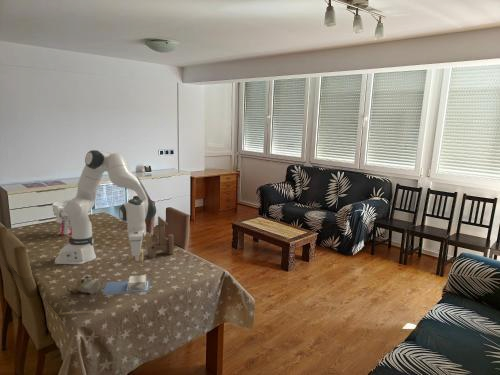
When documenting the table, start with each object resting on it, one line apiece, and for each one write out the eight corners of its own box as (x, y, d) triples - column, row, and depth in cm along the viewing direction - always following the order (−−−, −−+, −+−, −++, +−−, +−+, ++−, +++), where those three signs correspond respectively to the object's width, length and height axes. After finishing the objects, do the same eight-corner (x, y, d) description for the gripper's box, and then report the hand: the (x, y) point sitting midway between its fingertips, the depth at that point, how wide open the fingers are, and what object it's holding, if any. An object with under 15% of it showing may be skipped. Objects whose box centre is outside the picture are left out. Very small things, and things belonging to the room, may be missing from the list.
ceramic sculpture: (90, 282, 169) (64, 279, 173) (92, 299, 170) (66, 296, 174) (105, 273, 179) (80, 270, 183) (106, 289, 181) (81, 286, 184)
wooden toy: (150, 258, 222) (149, 219, 217) (147, 254, 228) (146, 217, 223) (174, 254, 230) (174, 216, 226) (170, 250, 236) (170, 214, 231)
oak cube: (132, 262, 178) (131, 252, 177) (133, 258, 183) (132, 249, 182) (142, 261, 179) (142, 252, 178) (143, 258, 184) (142, 248, 183)
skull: (51, 231, 266) (49, 201, 261) (78, 227, 277) (77, 198, 273) (57, 241, 246) (55, 209, 242) (87, 236, 258) (85, 205, 253)
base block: (128, 290, 178) (128, 282, 178) (130, 283, 186) (130, 276, 185) (145, 289, 180) (145, 281, 180) (146, 282, 188) (146, 275, 187)
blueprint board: (102, 297, 173) (102, 294, 173) (106, 284, 186) (106, 282, 186) (149, 293, 178) (149, 291, 178) (150, 281, 191) (150, 279, 191)
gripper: (131, 225, 187) (132, 250, 190) (128, 238, 168) (129, 266, 170) (144, 225, 189) (145, 250, 191) (142, 237, 169) (143, 265, 172)
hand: (137, 257), depth 181 cm, fingers closed on oak cube, 5 cm apart
